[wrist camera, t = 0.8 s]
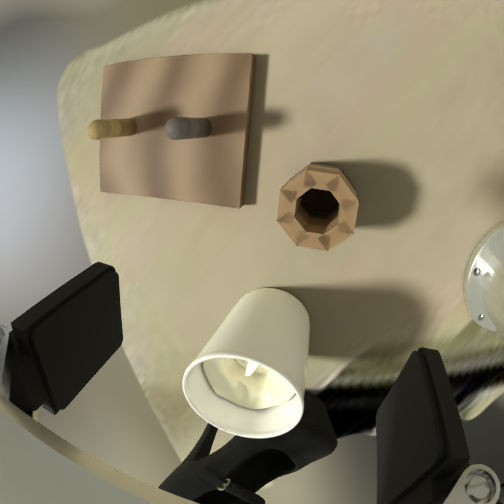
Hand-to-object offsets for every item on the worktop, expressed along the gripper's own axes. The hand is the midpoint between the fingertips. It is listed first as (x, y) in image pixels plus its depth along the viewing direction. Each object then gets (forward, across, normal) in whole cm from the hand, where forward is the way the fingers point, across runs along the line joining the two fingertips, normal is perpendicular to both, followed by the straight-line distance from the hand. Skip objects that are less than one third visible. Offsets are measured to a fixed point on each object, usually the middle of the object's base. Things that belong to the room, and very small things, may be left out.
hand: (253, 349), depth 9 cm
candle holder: (+21, +1, +14) cm, 25 cm away
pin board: (+21, +14, -4) cm, 26 cm away
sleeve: (+21, -1, -1) cm, 21 cm away
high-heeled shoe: (+21, -1, +26) cm, 34 cm away
